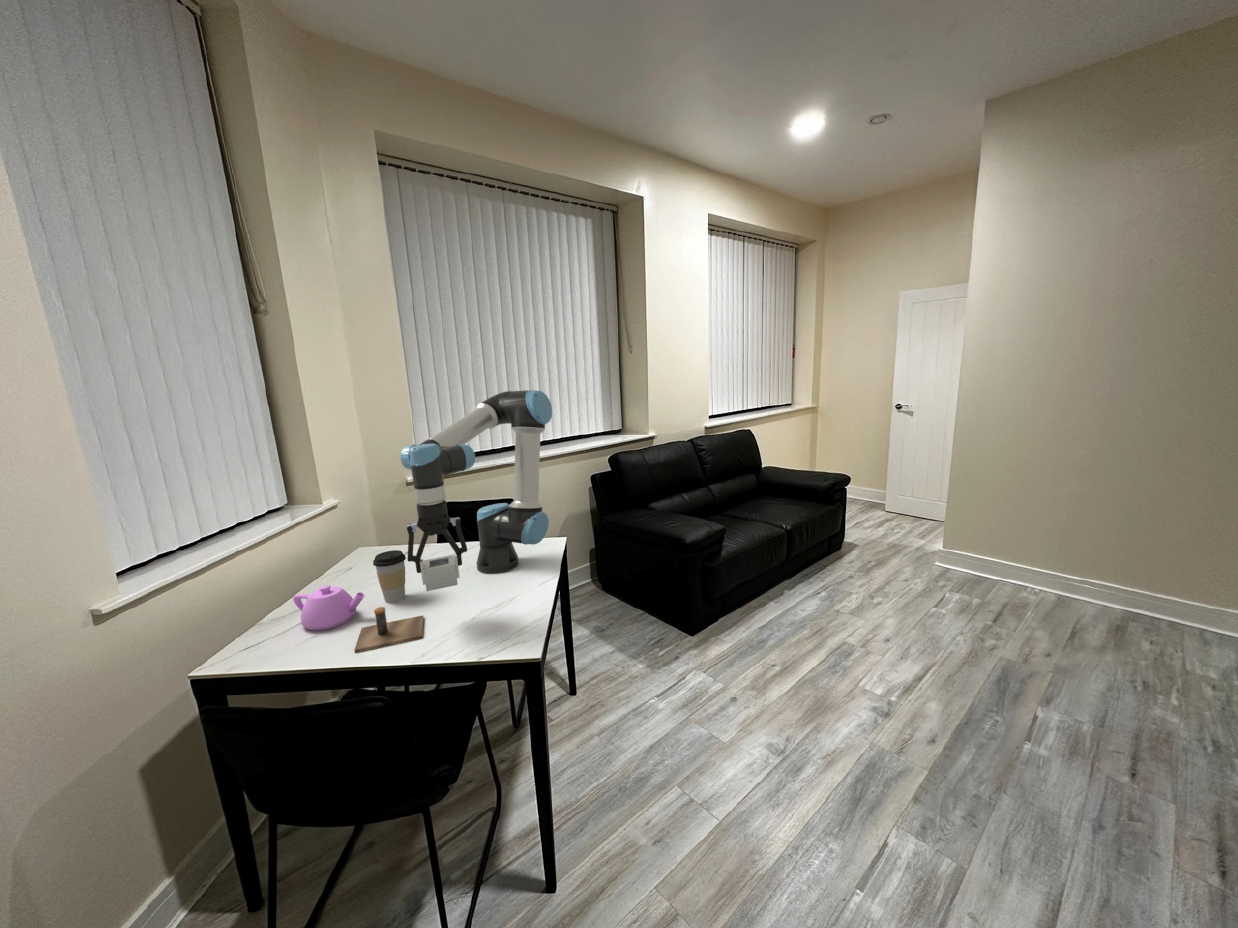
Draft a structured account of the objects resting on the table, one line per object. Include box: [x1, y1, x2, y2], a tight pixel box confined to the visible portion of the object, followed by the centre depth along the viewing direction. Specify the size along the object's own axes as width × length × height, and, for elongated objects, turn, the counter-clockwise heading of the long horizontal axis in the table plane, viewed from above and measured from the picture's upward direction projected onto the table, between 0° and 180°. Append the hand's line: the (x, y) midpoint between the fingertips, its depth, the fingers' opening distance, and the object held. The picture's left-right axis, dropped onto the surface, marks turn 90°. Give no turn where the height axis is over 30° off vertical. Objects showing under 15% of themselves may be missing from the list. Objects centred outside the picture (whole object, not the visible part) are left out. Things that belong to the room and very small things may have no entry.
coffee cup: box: [372, 549, 407, 604], centre depth 146 cm, size 9×9×15 cm
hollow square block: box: [423, 554, 459, 592], centre depth 128 cm, size 8×8×6 cm
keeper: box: [354, 606, 424, 653], centre depth 125 cm, size 16×12×8 cm
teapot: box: [292, 584, 365, 631], centre depth 134 cm, size 14×20×11 cm
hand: (441, 579), depth 129 cm, fingers closed on hollow square block, 8 cm apart
